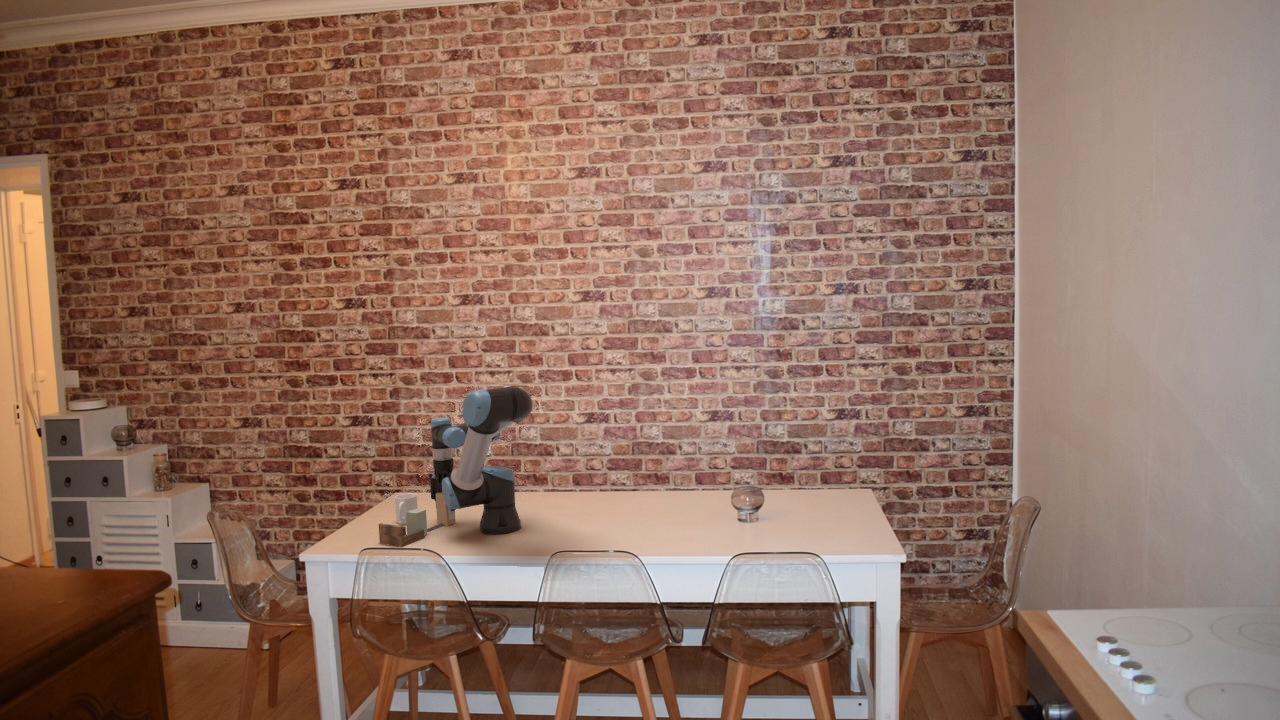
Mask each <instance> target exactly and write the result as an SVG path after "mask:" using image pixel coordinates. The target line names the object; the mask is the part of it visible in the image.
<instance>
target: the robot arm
mask: <svg viewBox="0 0 1280 720" xmlns="http://www.w3.org/2000/svg"><path fill="white" fill-rule="evenodd" d="M533 405H534V404H533V400H532V397H531V396H530V394H529V393H528V392H527V391H526V390H524V389H523V388H520V387H517V386H507V387H498V388H497V387H495V388H486V389H483V388H481V389H480V388H479V389H477V390H471V391H469V392H468V393H467V394H466V395H465V397H464V399H463V402H462V410H461V413H462V418H463V421H464V423H465V424H460V425H459V424H457V425H453V424H452V420H451V418H450V417H435V418H433V419H431V422H430V430H431V433H430V434H431V445H432V447H431V448H432V450H431V451H432V458H433V460H432V463H433V464H432V466H433V468H432V469H434V472H432V473H429V474H428V477H429V484H430V485H429V486H430V499H431V500H434V501H435V502H436V494H437V493H440V492H443V496H444V500H445V502H446V504H447V506H448V511H449V520H452V519H454V518H455V519H456V510H462V509H464V508H465V509H466V508H469V507H470V508H471V507H476V506H481V505H483V511H482V515H481V518H480V523H479V531H480V533H483V534H486V535H487V534H488V535H501V534H502V535H503V534H509V533H514V532H517V531H519V530H520V529H521V528H522V523H521V522H522V520H521V518H520V517H519V513H518V511H517V507H516V495H515V494H516V492H515V490H516V489H515V488H516V487H515V486H516V485H515V482H516V481H515V476H514V475H515V474H514V470H513V469H512V468H510V467H506V466H501V465H499V466H498V465H491V466H490V465H487V466H484V465H485V462H486V460H487V456H488V452H489V449H490V447H491V446H490V445H491V443H492V442H494V441H497V440H499V439H500V436H501V433H502V432H503V431H504V430H506V429H507V428H509V427H510V426H512V425H513V424H514V423H520V422H522V421H524V420H525V419H527V418H528V417H529V416H530V414H531V413H532V412H533V411H532V410H533ZM462 446H463V447H462ZM461 447H462V450H461V453H460V456H459V461H458V465H457V466H456V467H455V468H454V458H453V456H454V452H453V449H458V448H461Z"/></svg>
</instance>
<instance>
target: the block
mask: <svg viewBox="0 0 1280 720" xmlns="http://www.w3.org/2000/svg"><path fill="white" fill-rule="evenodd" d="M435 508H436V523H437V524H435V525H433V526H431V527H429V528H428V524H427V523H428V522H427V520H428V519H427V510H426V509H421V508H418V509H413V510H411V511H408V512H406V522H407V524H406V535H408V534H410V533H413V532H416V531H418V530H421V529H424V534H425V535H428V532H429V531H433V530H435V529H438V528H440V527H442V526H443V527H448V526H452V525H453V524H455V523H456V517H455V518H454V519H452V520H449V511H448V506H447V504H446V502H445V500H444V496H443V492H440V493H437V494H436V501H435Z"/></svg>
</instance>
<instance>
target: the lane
mask: <svg viewBox="0 0 1280 720" xmlns="http://www.w3.org/2000/svg"><path fill="white" fill-rule="evenodd" d="M378 536H379V544H381V545H387V544H389V545H388V546H395V547H399V546H400V547H399V548H402V547H405V546H408V545H409V544H412V543H415V542H417V541H420V540H423V539H425V534H424V529H421V530H418V531H416V532H413V533H410V534H408V535H407V526H403V525H395V524H388V523H383V522H381V523H378Z"/></svg>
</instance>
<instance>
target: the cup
mask: <svg viewBox="0 0 1280 720" xmlns="http://www.w3.org/2000/svg"><path fill="white" fill-rule="evenodd" d="M394 504H395V507H394V508H395V520H396V523H397V524H398V525H407V522H406V512H408V511H411V510H413V509H419V508H418V507H419V506H418V494H417V493H412V492H411V493H401V494H397V495H395V496H394Z"/></svg>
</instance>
